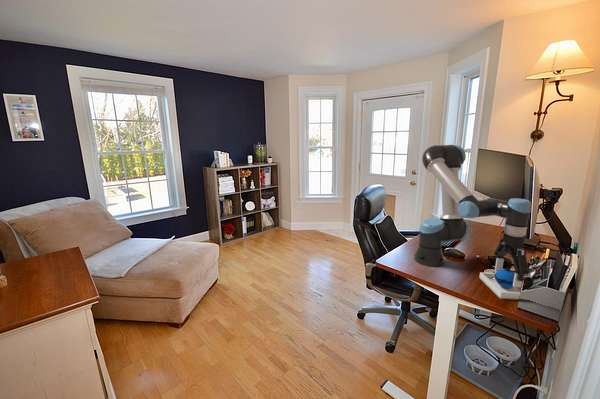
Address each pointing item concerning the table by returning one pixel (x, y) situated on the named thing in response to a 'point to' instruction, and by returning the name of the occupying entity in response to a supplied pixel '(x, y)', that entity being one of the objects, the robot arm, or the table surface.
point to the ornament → (505, 277)
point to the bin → (500, 287)
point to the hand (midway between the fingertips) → (506, 278)
